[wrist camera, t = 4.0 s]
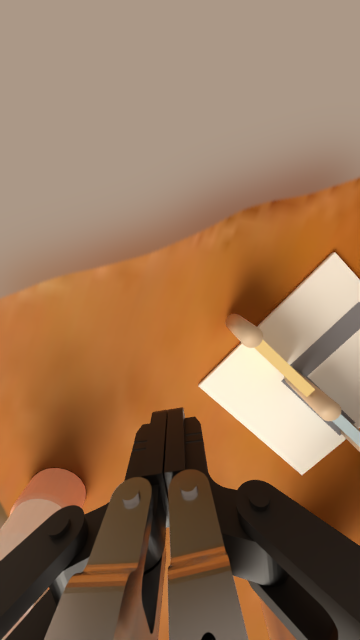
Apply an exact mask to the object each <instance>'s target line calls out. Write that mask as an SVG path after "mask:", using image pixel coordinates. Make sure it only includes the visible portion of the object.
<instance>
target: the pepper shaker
mask: <svg viewBox="0 0 360 640" xmlns="http://www.w3.org/2000/svg"><path fill="white" fill-rule="evenodd" d="M85 497H86V490H85V486H84V484H83V482H82V481H81V479H80V478H79V477H77V476H76V475H75V474H74V473H72V472H70V471H68V470H65V469H60V468H49V469H45V470H43V471H40V472H39V473H37V474H36V475H35V476H34V477H33V478H32V479H31V481H30V482H29V484H28V485H27V486H26V488H25V489H24V491H23V492H22V493H21V495H20V496H19V498H18V499H17V501H16V502H15V504H14V505H13V507H12V509H11V513H10V517H9V518H8V519H7V521H6V522H5V524H4V525H3V526H2V528H1V529H0V561H1V560H2V559H3V558H4V557H5V556H6V555H7V554H9V553H10V552H11V551H12V550H13V549H14V548H15V547H16V546H17V545H19V544H20V543H21V542H22V541H23V540H24V539H25V538H26V537H28V536H29V535H30V534H31V533H32V532H33V531H34V530H35V529H37V528H38V527H39V526H40V525H41V524H42V523H43V522H44V521H45V520H47V519H48V518H49V517H50V516H51V515H52V514H54V513H55V512H56V511H58V510H60V509H61V508H64V507H66V506H70V505H76V506H79V507H81V508H82V506H83V504H84V501H85ZM33 605H34V604H33ZM33 605H32V606H31V607H30V608H29V609H28V611H27V612H26V613H25V614H24V615H23V616H22V617H21V618H20V619H19V621H18V622H17V623H16V624H15V625H14V626H13V627H12V628H11V630H10V631H9V632H8V633H7V634H6V635H5V636H4V637H3V638H2V640H5V639H6V638H7V637H8V635H9V634H10V633H11V632H12V631H13V630H14V629H15V628H16V626H17V625H18V624H19V623H20V622H21V621H22V620H23V619H24V617H25V616H26V615H27V614H28V613H29V612H30V610H31V608H32V607H33Z"/></svg>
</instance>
